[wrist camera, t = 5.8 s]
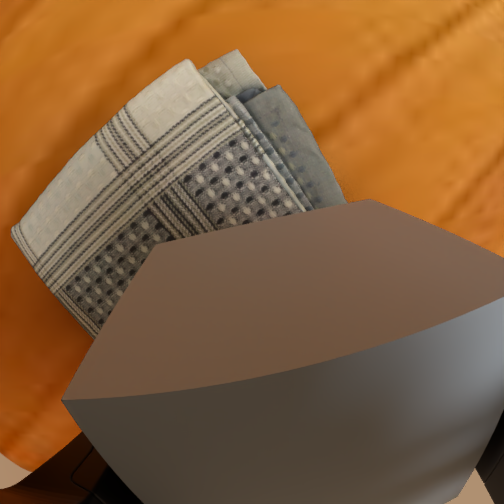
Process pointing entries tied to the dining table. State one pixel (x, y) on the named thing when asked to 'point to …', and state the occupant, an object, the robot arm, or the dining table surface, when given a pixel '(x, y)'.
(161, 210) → the dish towel
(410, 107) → the dining table surface
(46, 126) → the dining table surface
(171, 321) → the slate block
